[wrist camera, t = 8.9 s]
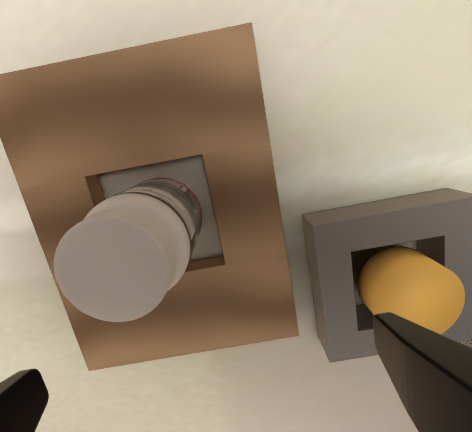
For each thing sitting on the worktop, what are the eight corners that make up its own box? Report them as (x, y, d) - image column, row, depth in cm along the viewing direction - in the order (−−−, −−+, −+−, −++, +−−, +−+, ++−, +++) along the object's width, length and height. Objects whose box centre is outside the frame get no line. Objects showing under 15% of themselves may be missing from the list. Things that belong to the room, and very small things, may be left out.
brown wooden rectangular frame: (294, 321, 20) (299, 335, 19) (98, 354, 20) (88, 370, 19) (249, 33, 16) (251, 22, 14) (1, 84, 16) (-22, 78, 15)
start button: (432, 307, 18) (464, 333, 15) (360, 319, 18) (380, 347, 15) (431, 240, 16) (465, 257, 14) (354, 253, 17) (375, 273, 14)
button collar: (447, 314, 20) (476, 338, 18) (318, 336, 20) (329, 362, 18) (446, 188, 18) (480, 195, 15) (302, 214, 18) (313, 225, 16)
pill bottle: (159, 263, 19) (104, 356, 11) (111, 206, 18) (10, 260, 10) (218, 223, 18) (207, 289, 10) (171, 161, 17) (117, 179, 9)
